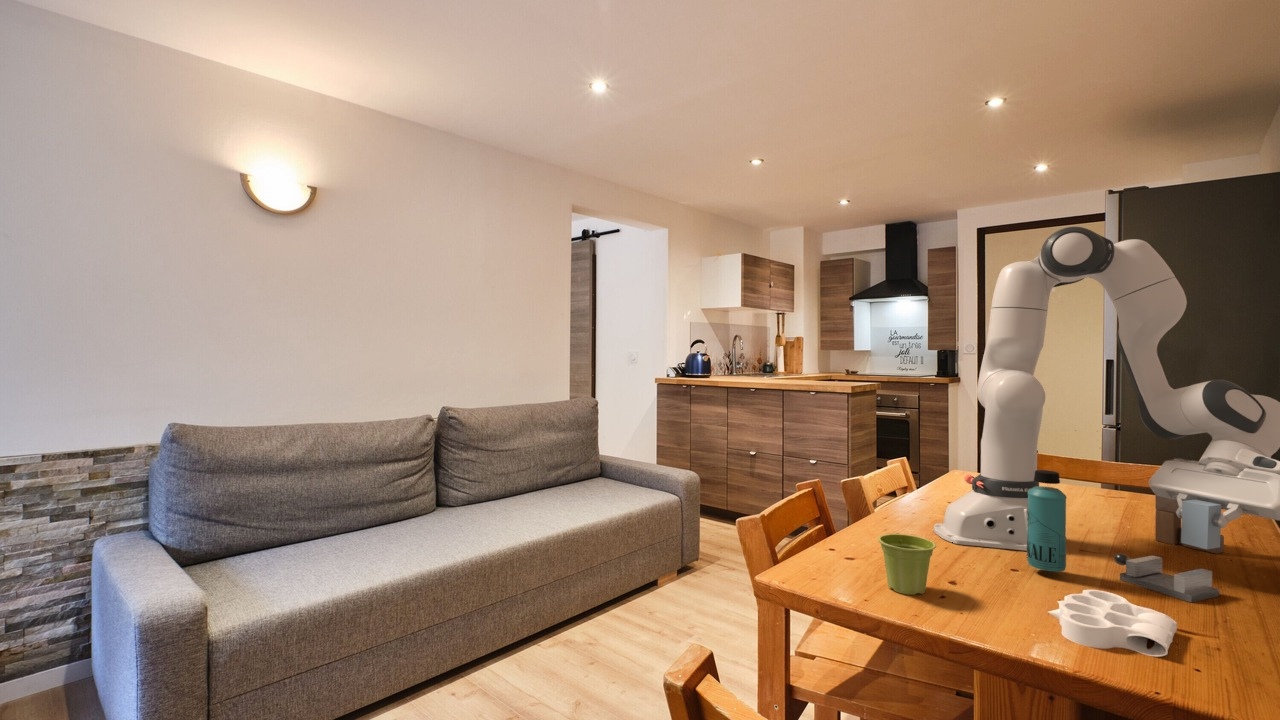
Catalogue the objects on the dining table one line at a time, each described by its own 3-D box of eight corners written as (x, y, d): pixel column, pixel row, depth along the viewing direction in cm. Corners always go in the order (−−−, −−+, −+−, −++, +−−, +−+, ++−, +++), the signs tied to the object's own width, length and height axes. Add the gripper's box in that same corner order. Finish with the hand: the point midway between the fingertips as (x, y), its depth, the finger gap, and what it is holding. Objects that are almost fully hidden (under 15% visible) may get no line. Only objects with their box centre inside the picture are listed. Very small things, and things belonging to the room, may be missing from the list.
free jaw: (1134, 577, 109) (1135, 563, 109) (1101, 566, 114) (1101, 553, 114) (1162, 571, 112) (1162, 557, 112) (1128, 561, 117) (1128, 548, 117)
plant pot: (881, 576, 113) (881, 530, 113) (936, 584, 109) (936, 537, 109) (875, 593, 105) (875, 544, 105) (934, 603, 101) (935, 552, 101)
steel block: (1207, 549, 109) (1208, 506, 109) (1181, 542, 113) (1182, 500, 113) (1220, 547, 110) (1221, 504, 110) (1193, 540, 114) (1195, 499, 114)
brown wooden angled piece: (1161, 538, 137) (1162, 460, 137) (1224, 552, 127) (1224, 468, 127) (1154, 541, 135) (1154, 462, 135) (1217, 554, 125) (1217, 470, 125)
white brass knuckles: (1163, 671, 80) (1036, 634, 90) (1179, 630, 92) (1065, 601, 103) (1163, 646, 80) (1036, 612, 90) (1179, 608, 92) (1065, 582, 102)
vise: (1191, 602, 101) (1191, 579, 101) (1119, 579, 111) (1120, 558, 111) (1219, 596, 104) (1219, 573, 104) (1146, 574, 114) (1147, 553, 114)
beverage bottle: (1060, 569, 116) (1060, 468, 116) (1072, 582, 110) (1073, 475, 110) (1022, 566, 119) (1022, 466, 118) (1031, 577, 112) (1032, 472, 112)
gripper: (1161, 447, 123) (1129, 496, 120) (1297, 465, 104) (1264, 525, 101) (1173, 467, 125) (1142, 516, 122) (1310, 489, 106) (1278, 548, 103)
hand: (1199, 520), depth 111 cm, fingers closed on steel block, 4 cm apart
